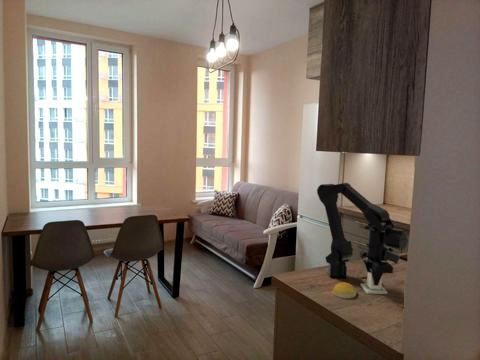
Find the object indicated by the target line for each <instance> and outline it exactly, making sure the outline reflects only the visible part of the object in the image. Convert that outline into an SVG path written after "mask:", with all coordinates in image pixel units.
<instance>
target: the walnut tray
mask: <svg viewBox="0 0 480 360" xmlns="http://www.w3.org/2000/svg"><path fill="white" fill-rule="evenodd" d="M357 279H358V280H359V281H360V283H362V284H367V275H358V276H357ZM383 285H384V284H383V282H382V284H381V286H382V287H383Z"/></svg>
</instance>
